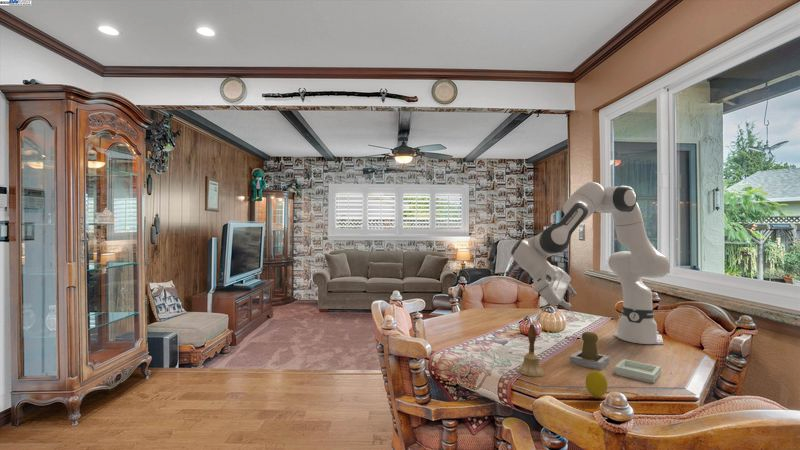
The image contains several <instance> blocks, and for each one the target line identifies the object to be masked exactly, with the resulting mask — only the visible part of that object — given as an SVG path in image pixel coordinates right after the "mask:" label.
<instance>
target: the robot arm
mask: <svg viewBox="0 0 800 450" xmlns="http://www.w3.org/2000/svg"><path fill="white" fill-rule="evenodd" d="M562 211H563V214H564V215H563V217H561V219H559V221H558V223H556V224H553V225H550V226H548V227H546V229H544V230H543V231H541V232H539V233H538V234H537V235H535V236H532V237H530V238H525V239H520V240H518V241H517V242H516V243H515V244H514V246H513V247H512V249H511V253H510V254H511V257H512V259H513V260H514V261H515V262H516V263H517V264H518V266H520V268H521V269H522V270H524V271H526V272H527V273H528V274H529V275H530V277H531V279H533V290H534V292H536V293H539V295H540V297H541V298H542V299H544V301H546V302H547V303H548V304H549V305H550V306H552V307H556V306H558V305H560V306H562V307H564V308H565V309H566V310H570V309H571V307H572V306H573V305H572V304H571V303H570V302H567V301H565V298H564V296H565V294H566V292H567V291H568V292H569V295H570V296H571V297H573V298H574V297H575V296H577V292H576V291H575V290H574V289H575V288H573V285H571V283H570V282H571V281H572V278H571V276H570V275H569V274H568V273H567V272H566V271H564V270H563V269H562V268H560V267H559V266H556V265H552V264H551V262H549V261H548V260H547V259H548V258H549V257H551V256H553V255H555V254H558V253H562V252H563V251H565V250H566V249H567V248H568V246H569V244H570V240H571V238H572V235H573V233H574V232H575V230H576V229H577V228H578V227H579V225H580V224H582V223H583V222H584V221H586V220H587V219H588V218H589V217H591V216H592V215H593V214H594V213H595V214H599V213H600V214H601V213H603V214H612V218H613V225H614V228H615V233H616V237H617V241H618V242H619V243H620V244H621V245H622V246H624V247H625V248H626V249H627V250H628V251H627V250H624V251H623V250H622V251H617V252H613V253H612V254H610V256H609V258H608V267H609V269H610V271H612V272H613V273H614V274H615V276H616V277H617V278H618V281H619V282H620V285H621V290H622V306H621V307H622V308H621V314H622V315H621V316H619V318H618V319H617V332H614V333H613V337H614V338H618V339H620V340H623V341H626V342H630V343H634V344H641V345H642V344H643V345H664V340H663V336H662V334H660V332H659V331H658V325H657V322H656V320H655V319H654V317H655V312H654V309H653V292H652V289H650V287H648V286H647V285H645V284H644V282H643V279H642V278H646V279H647V278H648V279H657V278H664V277H665V276H667V275H668V273H669V272H670V269H671V263H670V261H669V259H668V258H667V256H665V255H664V254H662V253H660V251H658V250H657V248H656V247H655V246H654V245H653V244H652V241H650V239H649V237H648V235H647V232H646V231H647V230H646V228H645V223H644V219H643V215H642V211H641V209H640V206H639V203H638V195H637V192H636V191H635V190H634V189H633V188H632V187H631V186H629V185H628V186H627V185H619V186H613V185H612V186H606V187H603V186H602V185H601V184H599V183H598V182H595V181H589V182H585V184H583V185H581V186H580V187H578V189H576V190H575V191H574V192H573V193H572V194H571V195H570V197H568V199H567V200H566V202H565V203H564V205H563V207H562Z"/></svg>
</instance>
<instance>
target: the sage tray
mask: <svg viewBox="0 0 800 450" xmlns="http://www.w3.org/2000/svg"><path fill="white" fill-rule="evenodd" d="M661 368H662V367H661V366H659V365H654V364H649V363H644V362H640V361H636V360H630V359H626V358H622V360H621V361H619V362H618V363H617V364H616V365H615V366H614V375H617V376H621V377H625V378H630V379H633V380H638V381H643V382H646V383H650V384H655V383H656V382H657V380H658V379H659V377H660V376H661V375H662V374H661V373H662V371H661V370H662V369H661Z"/></svg>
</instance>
